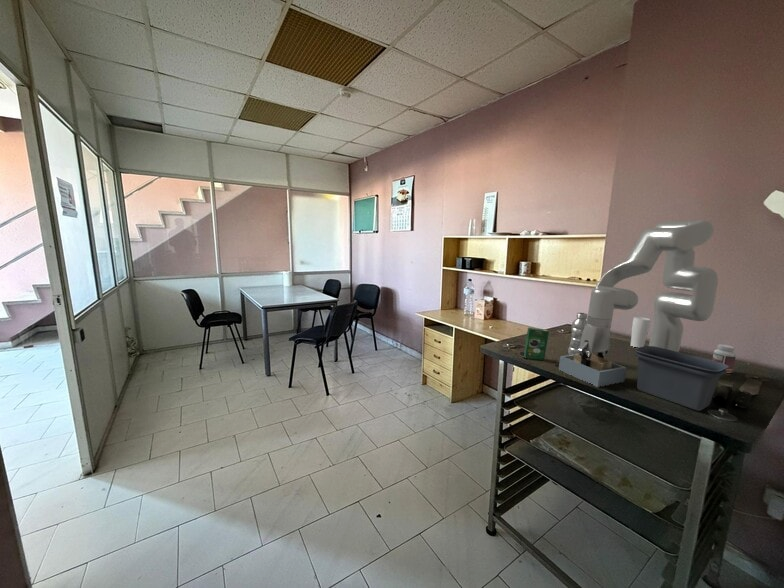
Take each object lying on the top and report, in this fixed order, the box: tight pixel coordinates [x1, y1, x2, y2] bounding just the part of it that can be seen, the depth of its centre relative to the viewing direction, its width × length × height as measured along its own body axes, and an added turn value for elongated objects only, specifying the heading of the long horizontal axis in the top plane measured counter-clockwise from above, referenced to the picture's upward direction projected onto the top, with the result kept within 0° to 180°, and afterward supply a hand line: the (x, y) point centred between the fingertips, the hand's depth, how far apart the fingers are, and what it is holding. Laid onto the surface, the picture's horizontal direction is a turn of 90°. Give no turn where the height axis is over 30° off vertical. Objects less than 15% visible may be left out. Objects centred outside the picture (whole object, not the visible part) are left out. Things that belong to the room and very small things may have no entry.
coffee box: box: [523, 327, 549, 361], centre depth 133 cm, size 8×3×13 cm, turn 80°
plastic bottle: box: [567, 312, 588, 355], centre depth 135 cm, size 6×7×20 cm
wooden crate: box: [573, 353, 614, 371], centre depth 118 cm, size 7×10×5 cm
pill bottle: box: [711, 343, 737, 373], centre depth 128 cm, size 6×6×11 cm
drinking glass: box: [630, 316, 652, 348], centre depth 156 cm, size 7×7×15 cm
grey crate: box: [558, 354, 627, 388], centre depth 118 cm, size 15×16×6 cm
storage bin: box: [634, 345, 729, 412], centre depth 103 cm, size 21×16×14 cm
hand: (591, 367), depth 118 cm, fingers closed on wooden crate, 6 cm apart
